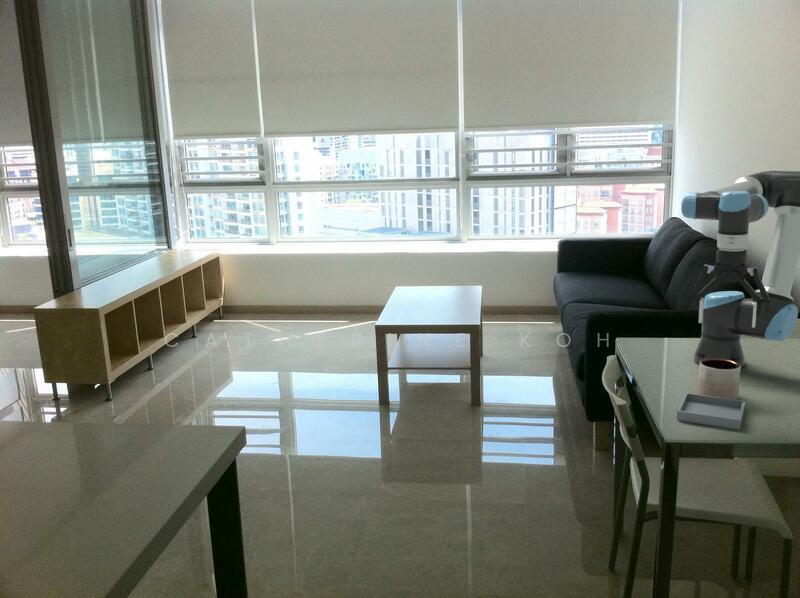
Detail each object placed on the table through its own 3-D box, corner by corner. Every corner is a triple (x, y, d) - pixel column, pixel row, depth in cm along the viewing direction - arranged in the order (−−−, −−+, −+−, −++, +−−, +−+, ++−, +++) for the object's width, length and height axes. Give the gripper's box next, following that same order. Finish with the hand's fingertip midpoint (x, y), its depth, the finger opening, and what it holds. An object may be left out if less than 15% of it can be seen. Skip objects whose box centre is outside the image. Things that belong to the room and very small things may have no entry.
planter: (743, 403, 206) (745, 370, 204) (701, 401, 208) (704, 369, 206) (732, 389, 217) (735, 358, 214) (693, 388, 218) (695, 357, 216)
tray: (685, 400, 209) (685, 392, 208) (744, 409, 202) (745, 400, 201) (676, 419, 196) (677, 411, 195) (739, 429, 189) (740, 420, 188)
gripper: (681, 249, 204) (677, 323, 209) (783, 253, 192) (776, 331, 197) (684, 244, 210) (680, 316, 215) (783, 248, 199) (776, 324, 204)
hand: (726, 324), depth 206 cm, fingers open, 13 cm apart
